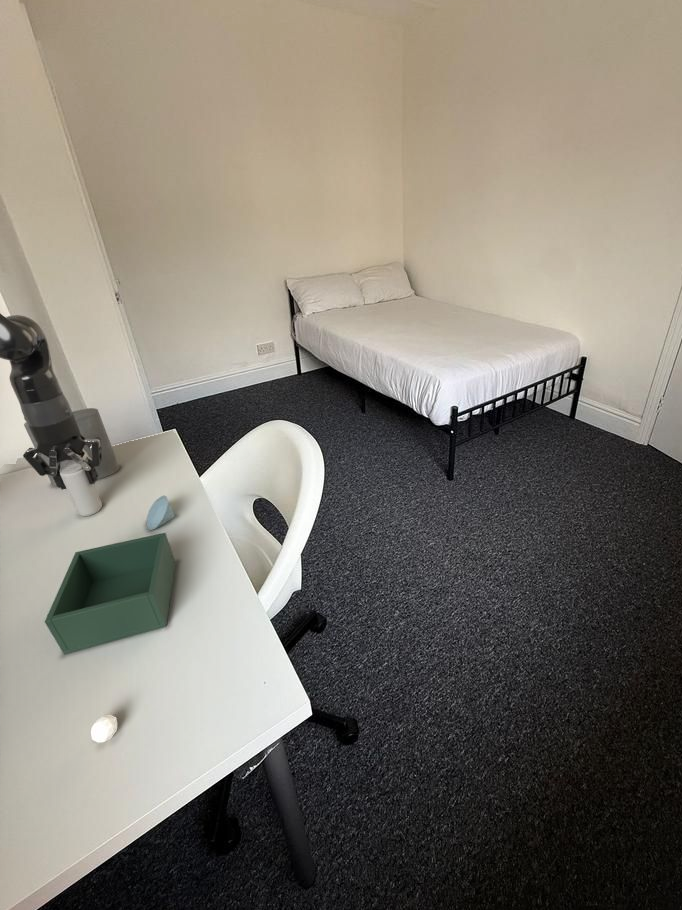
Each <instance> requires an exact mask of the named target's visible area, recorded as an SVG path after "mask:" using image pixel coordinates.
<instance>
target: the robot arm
mask: <svg viewBox="0 0 682 910" xmlns="http://www.w3.org/2000/svg"><path fill="white" fill-rule="evenodd" d="M48 343H49V342H48V340H47V337H46V334H45V332H44V331H43V328H42V327H41V326H40V325H39V323H37V322H36V321H35V320H34V319H32V318H30V317H28V316H26V315H21V314H12V315H8V316H4V315H3V314H1V313H0V359H2V360H6V361H9V364H10V373H9V382H10V383H9V384H10V386H11V388H12V389H13V392H14V394H15V396H16V399H17V400H18V403H19V406H20V410H21V413H22V416H23V418H24V421H25V423H26V422H27V424H28V426H29V428H30V430H31V433H32V435H33V437H34V439H35V441H36V442H37V444H38V445H37V447H36V448H35V447H29V448H27V449H26V451H25V452H24V453H23V455H22V457H23V458H24V460H26V461H27V463H28V464H29V465H30V466H31V467H32V468H33V469H34V470H35V472H36V473H37V474H38V475H39V476H41V477H43V476H48V475H50V476H52V477H53V479H54V481H55V483H56V485H57V486H56V487H57V488H60V490H67V489H66V486H65V484H64V482H63V480H62V478H61V475H60V468H61V462H62V461H65V460H74V461H75V462H76V463H77V464H80V465H81V466H82V467H83V468H84V469H85V473H86V476H87V478H88V480H89V483H90V484H94V485H95V484H96V482H97V481H98V479H97V478H98V474H97V471H96V469H95V467H97V466H99V464H100V462H101V460H102V447H101V438H99V437H96V438H95V439H85V438H84V437H83V436H82V435H81V433H80V430H79V427H78V425H77V422H76V420H75V418H74V415H73V413H72V412H73V411H72V408H71V406H70V403H69V400H68V399H67V397H66V396H65V394H64V392H63V390H62V387H61V385H60V382H59V380H58V378H57V375H56V374H55V371H54V368H53V367H54V366H53V362H52V356H51V351H50V346H49V344H48ZM84 445H87V446H88V448H89V449H90V450H92V459H91V458H90V457H89V456H88V454H87V452H86V451H85V450H84V449H83V447H84ZM41 453H42V454H43V455H45V456H47V457H49V465H48V464H47V463H46V462H45V461H44V459H43V458H42V457H41V456H40V455H41Z"/></svg>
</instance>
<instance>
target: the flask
mask: <svg viewBox="0 0 682 910" xmlns="http://www.w3.org/2000/svg"><path fill="white" fill-rule="evenodd" d="M72 413H73V415H74V418H75V420H76V422H77V425H78V427H79V430H80V433H81V435H82V436H83V437H84V438H85V439H95V438H96V437H99V438H101V447H102V460H101V462H100V464H99V466H97V467H95V469H96V471H97V474H98V478H97V480H100V479H102V478H103V479H104V478H106V477H110V476H112V475H114V474H116V473H117V472H118V471H119V470H120V465H119V462H118V460H117V457H116V454H115V452H114V451H115V450H114V449H113V446H112V444H111V440H110V439H109V436H108V433H107V430H106V428H105V425H104V422H103V420H102V418H101V414H100V412H99V409H97V408H94V407H89V408H88V407H87V408H83V409H79V410H74V411H72ZM23 426H24V428H25V431H26V433H27V435H28V437H29V440H30V441H31V443H32V445H33V448H36V447H37V445H38V444H37V442H36V441H35V439H34V437H33V435H32V433H31V430H30V428H29V426H28V424H27V422H26V421H25V422H24V423H23ZM83 449H84V450H85V451H86V452H87V454H88V456H89V457H90V458H91V459H92V450H90V449H89V448H88V446H87V445H84V447H83ZM40 456H41V457H42V458H43V459H44V461H45V462H46V463H47V464H48V465H49V457H47V456H45V455H43V454H42V453H41V455H40ZM72 462H75V461H74V460H65V461H62V462H61V468H62V467H63V466H64V465H66V464H69V463H72ZM47 476H48V478H49V481H50V483H51V485H52V486H54V487H57V485H56V483H55V481H54V479H53V477H52V476H50V475H47Z"/></svg>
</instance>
